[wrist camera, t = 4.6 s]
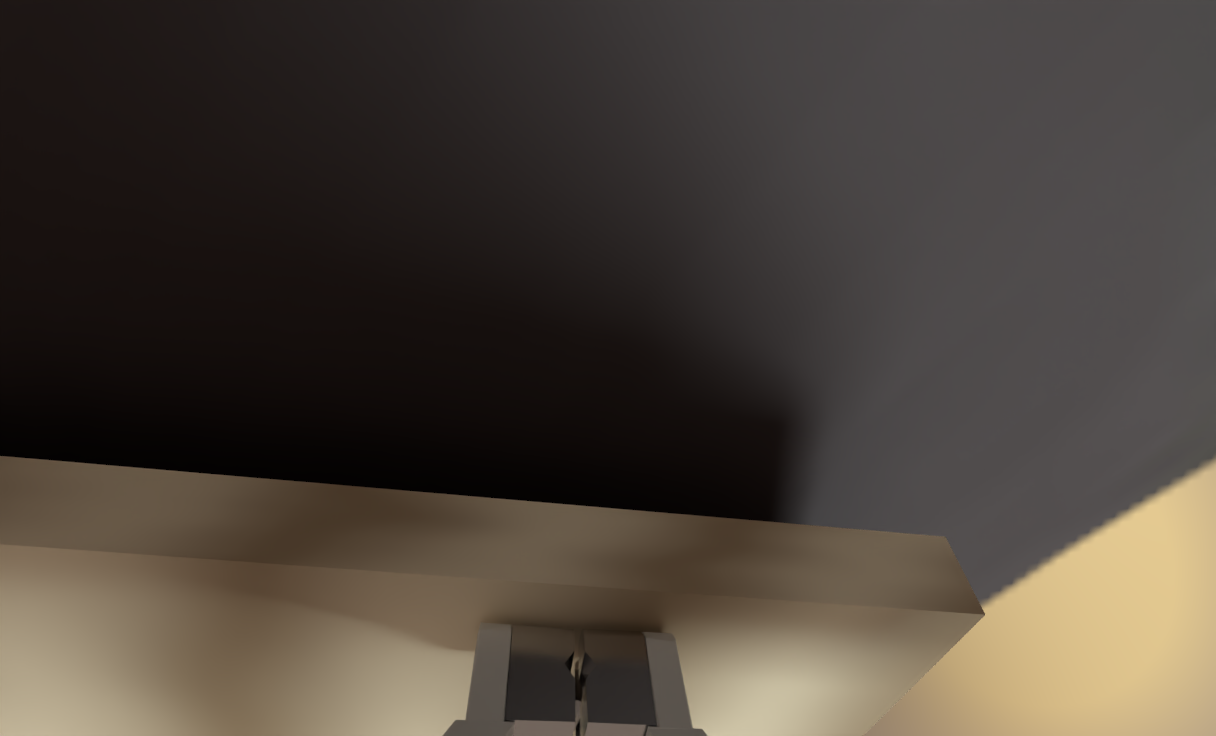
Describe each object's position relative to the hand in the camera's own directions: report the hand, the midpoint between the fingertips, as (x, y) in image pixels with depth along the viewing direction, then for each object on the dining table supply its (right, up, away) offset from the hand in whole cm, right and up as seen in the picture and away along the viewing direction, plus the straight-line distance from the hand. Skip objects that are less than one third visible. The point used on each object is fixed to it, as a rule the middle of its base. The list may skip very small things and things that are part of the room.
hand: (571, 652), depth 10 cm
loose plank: (-6, -2, +3) cm, 7 cm away
